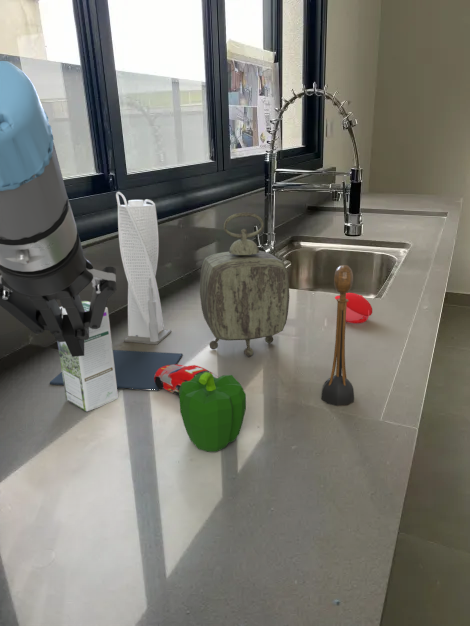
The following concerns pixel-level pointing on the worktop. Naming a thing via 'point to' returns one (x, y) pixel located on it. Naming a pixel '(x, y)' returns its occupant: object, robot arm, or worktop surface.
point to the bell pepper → (212, 410)
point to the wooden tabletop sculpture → (340, 346)
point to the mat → (136, 368)
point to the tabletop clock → (244, 291)
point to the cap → (357, 308)
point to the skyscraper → (141, 269)
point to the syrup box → (90, 368)
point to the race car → (176, 376)
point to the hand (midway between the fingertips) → (78, 346)
